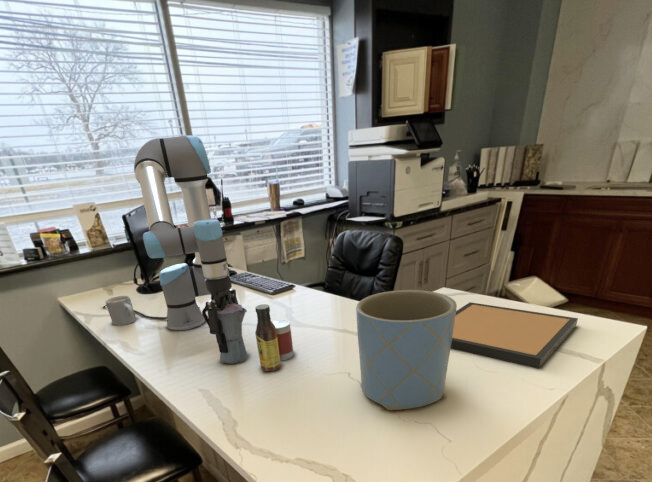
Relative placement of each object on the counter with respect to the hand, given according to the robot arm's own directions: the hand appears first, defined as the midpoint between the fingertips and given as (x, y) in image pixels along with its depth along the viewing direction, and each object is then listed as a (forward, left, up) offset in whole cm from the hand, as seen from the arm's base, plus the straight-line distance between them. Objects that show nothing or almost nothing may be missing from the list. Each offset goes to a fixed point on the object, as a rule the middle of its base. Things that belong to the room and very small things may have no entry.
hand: (231, 346), depth 133 cm
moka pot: (0, 0, -4) cm, 4 cm away
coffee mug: (-69, +24, -4) cm, 73 cm away
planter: (+57, -9, -4) cm, 58 cm away
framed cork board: (+80, +34, -4) cm, 87 cm away
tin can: (+16, +5, -4) cm, 17 cm away
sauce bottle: (+16, -4, -4) cm, 17 cm away
